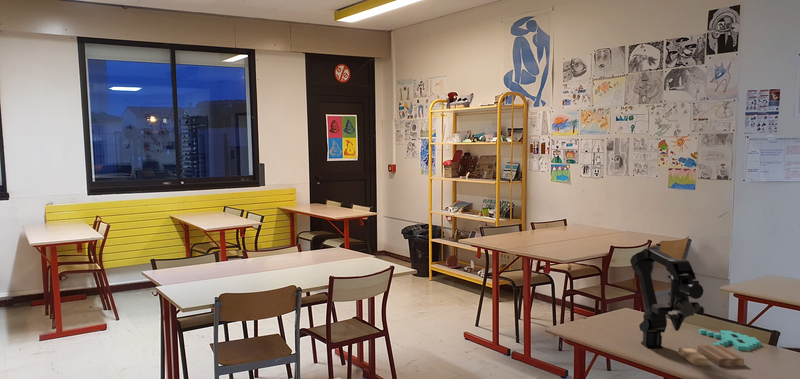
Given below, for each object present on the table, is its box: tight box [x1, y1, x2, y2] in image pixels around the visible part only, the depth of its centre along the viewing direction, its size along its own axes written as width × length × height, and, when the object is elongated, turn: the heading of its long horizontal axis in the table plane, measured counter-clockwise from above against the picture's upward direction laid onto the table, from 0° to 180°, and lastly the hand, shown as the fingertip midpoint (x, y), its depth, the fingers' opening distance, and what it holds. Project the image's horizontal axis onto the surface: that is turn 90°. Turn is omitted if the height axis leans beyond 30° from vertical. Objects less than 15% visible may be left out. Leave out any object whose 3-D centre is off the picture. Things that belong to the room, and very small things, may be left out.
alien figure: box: [698, 328, 762, 352], centre depth 238 cm, size 20×2×20 cm
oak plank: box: [678, 347, 709, 367], centre depth 218 cm, size 12×5×3 cm, turn 2°
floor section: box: [697, 344, 745, 367], centre depth 219 cm, size 10×14×3 cm
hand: (676, 330), depth 217 cm, fingers closed
